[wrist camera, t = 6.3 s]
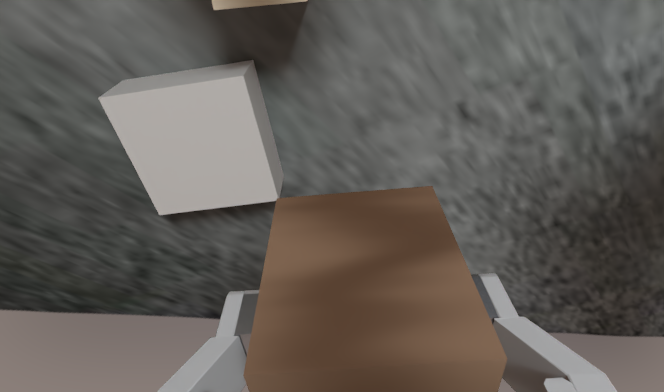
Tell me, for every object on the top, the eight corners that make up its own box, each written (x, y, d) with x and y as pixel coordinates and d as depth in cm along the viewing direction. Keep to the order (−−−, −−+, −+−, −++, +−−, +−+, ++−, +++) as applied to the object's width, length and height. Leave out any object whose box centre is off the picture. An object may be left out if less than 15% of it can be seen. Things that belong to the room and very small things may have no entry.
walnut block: (431, 186, 12) (507, 358, 7) (423, 292, 15) (474, 470, 10) (276, 198, 12) (243, 375, 7) (297, 301, 15) (283, 480, 10)
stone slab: (253, 58, 27) (243, 75, 24) (284, 173, 33) (278, 200, 30) (125, 78, 28) (98, 97, 25) (176, 187, 34) (159, 215, 31)
